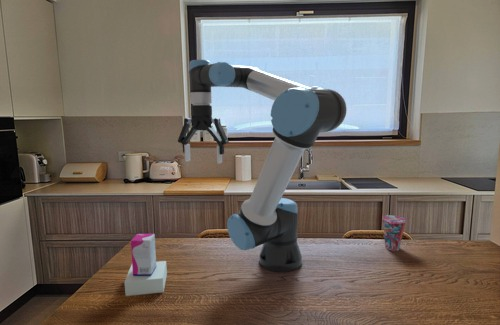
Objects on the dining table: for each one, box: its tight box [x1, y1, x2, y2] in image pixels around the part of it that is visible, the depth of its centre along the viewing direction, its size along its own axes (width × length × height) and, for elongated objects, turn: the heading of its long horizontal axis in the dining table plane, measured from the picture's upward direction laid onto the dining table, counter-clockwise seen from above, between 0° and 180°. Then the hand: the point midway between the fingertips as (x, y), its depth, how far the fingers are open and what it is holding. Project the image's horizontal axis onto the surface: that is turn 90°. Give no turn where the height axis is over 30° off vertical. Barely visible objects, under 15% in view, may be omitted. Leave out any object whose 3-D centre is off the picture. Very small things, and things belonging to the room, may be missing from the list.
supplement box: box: [130, 233, 157, 276], centre depth 99 cm, size 6×6×12 cm
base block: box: [123, 260, 168, 297], centre depth 100 cm, size 11×11×5 cm
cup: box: [382, 214, 407, 252], centre depth 122 cm, size 9×8×12 cm
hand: (203, 162), depth 119 cm, fingers open, 13 cm apart
